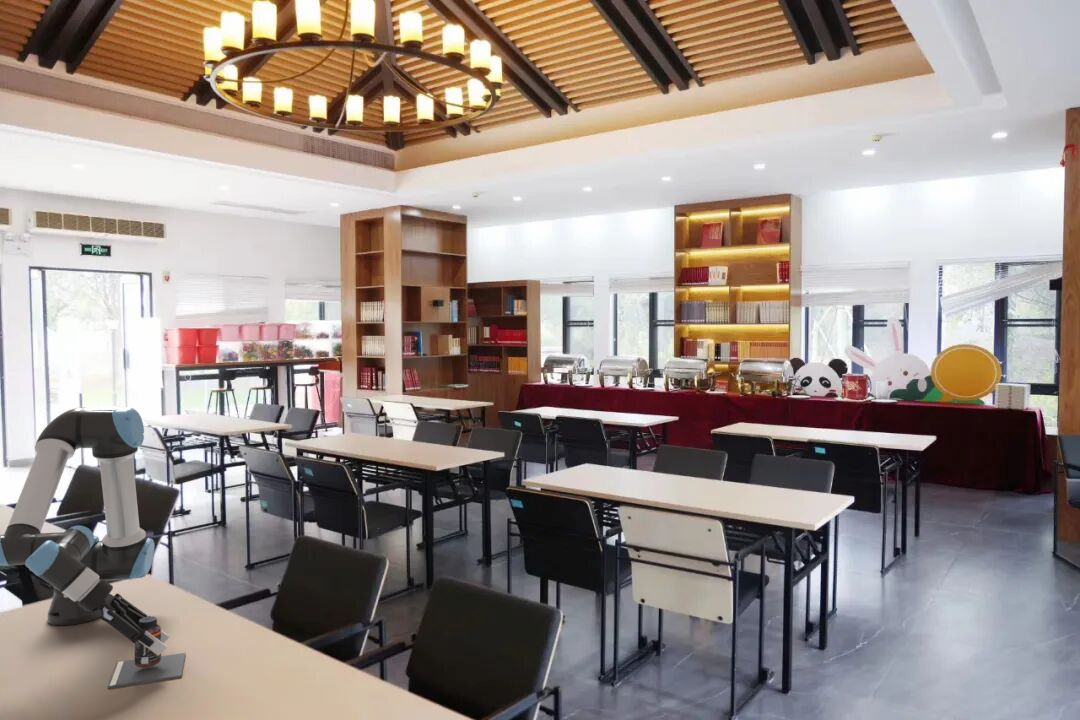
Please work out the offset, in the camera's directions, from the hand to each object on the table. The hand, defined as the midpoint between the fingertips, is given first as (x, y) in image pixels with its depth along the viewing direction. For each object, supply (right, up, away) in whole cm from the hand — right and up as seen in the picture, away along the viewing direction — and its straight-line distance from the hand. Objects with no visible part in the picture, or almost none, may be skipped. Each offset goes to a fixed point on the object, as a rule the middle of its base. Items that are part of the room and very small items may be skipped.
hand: (164, 645), depth 190 cm
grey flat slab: (-3, -6, -1) cm, 7 cm away
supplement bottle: (-3, -4, -1) cm, 6 cm away
